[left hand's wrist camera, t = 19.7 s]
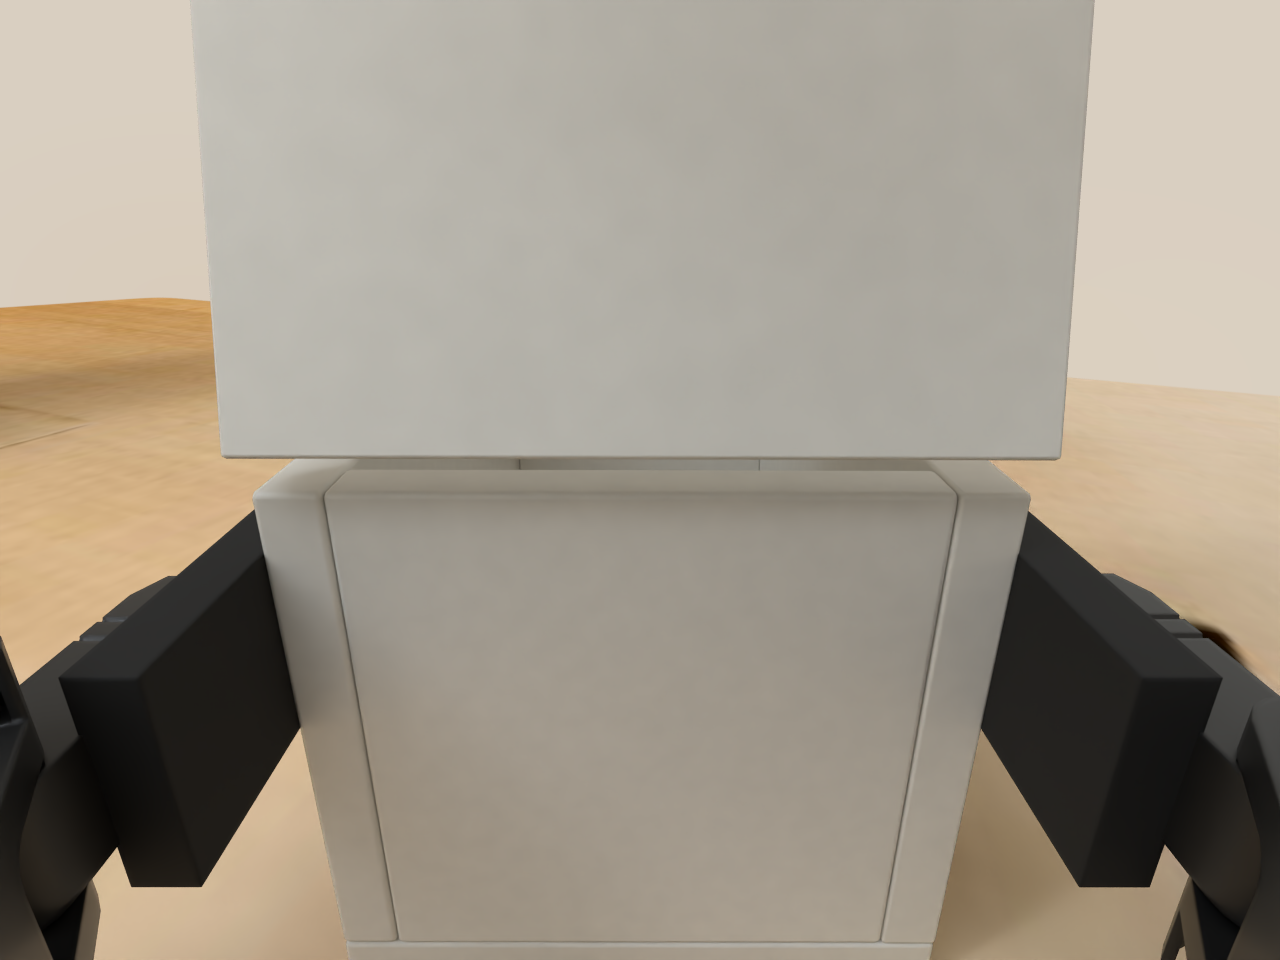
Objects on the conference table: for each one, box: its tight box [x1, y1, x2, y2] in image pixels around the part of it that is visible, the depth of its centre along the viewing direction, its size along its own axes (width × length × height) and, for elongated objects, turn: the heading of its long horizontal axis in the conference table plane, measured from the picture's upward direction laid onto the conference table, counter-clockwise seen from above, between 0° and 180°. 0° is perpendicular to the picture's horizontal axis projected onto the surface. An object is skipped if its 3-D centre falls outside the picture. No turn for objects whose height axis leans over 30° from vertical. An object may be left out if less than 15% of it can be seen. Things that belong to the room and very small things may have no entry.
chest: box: [253, 459, 1031, 960], centre depth 18 cm, size 15×9×9 cm, turn 0°
